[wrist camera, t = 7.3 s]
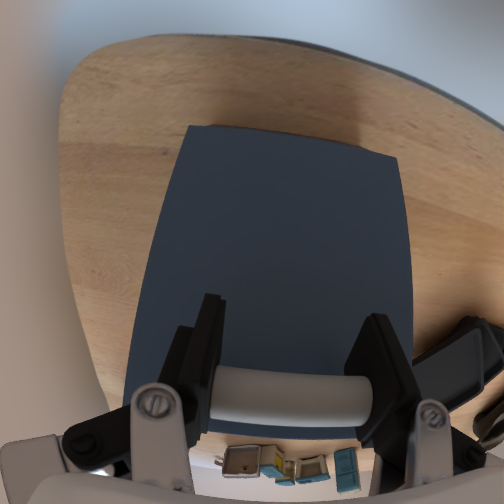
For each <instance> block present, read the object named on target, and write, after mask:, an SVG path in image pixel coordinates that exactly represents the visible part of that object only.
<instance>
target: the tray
mask: <svg viewBox="0 0 504 504" xmlns="http://www.w3.org/2000/svg"><path fill="white" fill-rule="evenodd" d="M503 370H504V329H502V328H500V327H497V326H495V325H492V324H489V323H487V321H486V320H485V319H484V318H479V317H478V316H475V317H471V316H466V317H464V318H463V319H462V320H461V321H460V322H459V323H458V325H457V326H456V327H455V329H454V330H453V331H452V333H451V334H450V335H449V336H448V338H447V339H446V340H445V341H444V342H442V343H440V344H439V345H437V346H436V347H434V348H432V349H431V350H429V351H427V352H425V353H424V354H422V355H420V356H419V357H417V358H415V359H413V360H412V372H413V375H414V377H415V380H416V382H417V385H418V387H419V390H420V392H421V396H422V399H423V400H425V399H434V400H437V401H439V402H440V403H442V404H443V405H444V406H445V407H446V409H447V410H448V412H449V413H450V412H452V411H453V410H455V409H457V408H458V407H460V406H462V405H463V404H465V403H467V402H468V401H470V400H472V399H473V398H475V397H476V396H478V395H479V394H480V393H481V392H482V391H483V390H484V386H485V385H486V384H488V383H489V382H490V381H491V380H492V379H494V378H495V377H496V376H497V375H498V374H499V373H500V372H502V371H503Z"/></svg>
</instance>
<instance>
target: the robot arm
mask: <svg viewBox="0 0 504 504" xmlns="http://www.w3.org/2000/svg"><path fill="white" fill-rule="evenodd" d="M225 309H226V300H223V299H221V295H217V294H210V293H205V296H204V299H203V302H202V305H201V308H200V311H199V314H198V317H197V320H196V323H195V326H194V327H188V326H182V325H179V326H178V328H177V330H176V333H175V335H174V338H173V340H172V343H171V346H170V348H169V351H168V354H167V356H166V359H165V362H164V365H163V367H162V370H161V373H160V375H159V378H158V381H157V383H156V382H154V383H147V384H145V385H142V386H140V387H139V388H138V389H137V390H136V391H135V392H134V394H133V395H132V399H131V404H128V405H126V406H124V407H121V408H119V409H116V410H113V411H111V412H108V413H106V414H103V415H100V416H98V417H95V418H92V419H90V420H87V421H84V422H82V423H78V424H76V425H74V426H72V427H70V428H69V429H68V430H67V431H66V432H65V433H64V435H61V436H56V435H55V434H52V435H47V436H42V437H37V438H32V439H27V440H20V441H14V442H9V443H6V444H4V446H2V447H1V449H0V470H1V474H2V479H3V483H4V487H5V491H6V495H7V498H8V502H9V504H504V459H501V458H499V457H497V456H495V455H493V454H491V453H488V452H487V453H485V450H484V448H483V447H482V445H481V444H479V443H478V442H477V441H475V440H473V439H472V438H470V437H469V436H467V435H465V434H464V433H462V432H460V431H459V430H457V429H456V428H454V427H452V426H451V424H450V416H449V412H448V410H447V409H446V407H445V406H444V405H443V404H442V403H440V402H439V401H437V400H434V399H425V400H423V399H422V396H421V392H420V390H419V387H418V385H417V382H416V380H415V377H414V375H413V372H412V370H411V367H410V365H409V363H408V360H407V358H406V356H405V353H404V351H403V349H402V346H401V344H400V342H399V340H398V337H397V335H396V333H395V331H394V329H393V326H392V324H391V322H390V320H389V318H388V316H387V315H386V314H380V313H372V314H371V315H370V316H367V317H366V318H365V320H364V323H363V325H362V327H361V330H360V332H359V334H358V336H357V339H356V341H355V343H354V345H353V347H352V350H351V352H350V354H349V356H348V358H347V360H346V362H345V365H344V375H345V376H365V377H367V378H368V379H369V381H370V383H371V386H372V391H373V404H372V409H371V413H370V416H369V418H368V420H367V421H366V423H365V424H363V425H361V426H355V432H356V438H357V440H358V441H359V442H361V446H362V449H364V448H374V452H375V453H376V454H375V460H374V467H373V473H372V480H371V486H370V491H369V496H368V497H361V498H353V499H344V500H334V501H320V502H259V501H244V500H233V499H224V498H217V497H209V496H202V495H196V494H195V491H194V485H193V480H192V474H191V468H190V462H189V456H188V449H190V448H191V447H193V446H195V445H196V443H197V440H200V435H201V433H204V434H207V430H208V425H209V419H210V416H209V405H210V396H211V388H212V382H213V377H214V372H215V368H216V366H217V365H220V360H221V352H222V341H223V330H224V320H225ZM131 476H132V481H131V480H127V479H126V478H128V477H131Z"/></svg>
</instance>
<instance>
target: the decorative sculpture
mask: <svg viewBox="0 0 504 504" xmlns="http://www.w3.org/2000/svg"><path fill="white" fill-rule="evenodd" d="M259 449H260V453H259V463H258V469H256V463H257V457H258V451H259ZM261 452H262V447H261V446H258V445H244V446H241V447H240V446H238V447H228V448H227V449H226V451H225V453H224V460H223V463H220V462H218V461H217V460H215V462H214V463H215V464H216V465H219V466H222V475H223V477H225V478H257V477H260V472H261V470H260V460H261Z"/></svg>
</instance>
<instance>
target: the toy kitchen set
mask: <svg viewBox="0 0 504 504" xmlns="http://www.w3.org/2000/svg"><path fill="white" fill-rule="evenodd" d="M259 453H260V449H259V451H258V457H257V463H256V469H258V463H259ZM334 460H335V471H336V482H337V492H338V493H339V494H340V495H346V494H351V493H356V492H359V491H361V485H360V476H359V468H358V461H357V454H356V451H355V449H354V448H349V449H345V450H341V451H337V452H335V453H334ZM260 470H261V472H262V473H263V474H264V475H266V476H267V477H269V478H275V483H276V484H278V485H284V486H292V485H295V483H294V482H295V481H296V482H297V483H299V484H306V483H312V482H319V481H323V480H328V479H330V476H329V472H328V468H327V464H326V460H325V458H324V457H323V455H319V456H318V458H314V459H309V460H303V461H302V460H301V459H298V460H297V465H296V474H295V466H294V464H293V463H292V462H291V461H286V462H285V454H284V453H281V452H280V451H279V450H278V449H277V447H276V445H269V446H263V447H262V452H261V460H260Z"/></svg>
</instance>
